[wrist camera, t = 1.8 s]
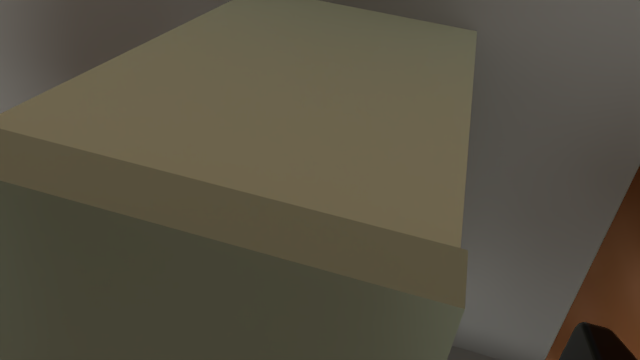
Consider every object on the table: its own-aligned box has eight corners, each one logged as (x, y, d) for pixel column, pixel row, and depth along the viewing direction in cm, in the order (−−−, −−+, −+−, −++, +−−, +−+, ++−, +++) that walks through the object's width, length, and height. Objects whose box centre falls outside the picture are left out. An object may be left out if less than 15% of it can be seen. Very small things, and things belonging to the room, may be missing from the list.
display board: (952, -563, 7) (1435, -1019, 3) (524, 362, 16) (534, 506, 12) (-205, -588, 10) (-596, -849, 6) (-24, 205, 18) (-146, 283, 15)
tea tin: (249, -16, 11) (-110, 150, 5) (480, 29, 11) (465, 309, 4) (234, 225, 14) (8, 539, 8) (412, 273, 14) (336, 669, 7)
